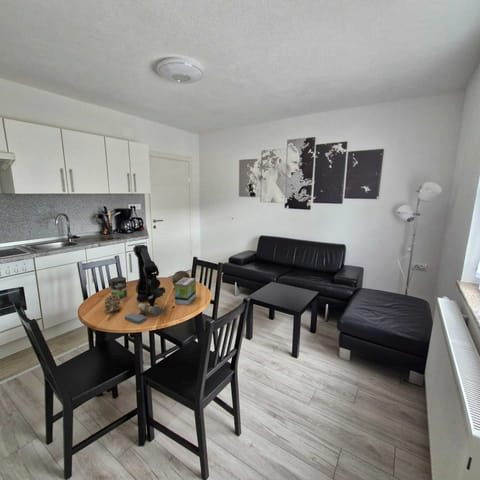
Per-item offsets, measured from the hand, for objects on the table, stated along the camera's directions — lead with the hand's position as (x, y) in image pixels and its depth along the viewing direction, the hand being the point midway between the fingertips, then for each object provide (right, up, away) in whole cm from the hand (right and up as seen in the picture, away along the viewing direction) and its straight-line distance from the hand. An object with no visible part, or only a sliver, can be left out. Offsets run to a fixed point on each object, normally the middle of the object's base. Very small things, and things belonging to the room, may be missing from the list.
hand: (152, 306), depth 162 cm
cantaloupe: (+10, +3, +39) cm, 41 cm away
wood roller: (-2, 0, -4) cm, 4 cm away
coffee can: (-31, +1, +22) cm, 38 cm away
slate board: (-3, -4, -4) cm, 7 cm away
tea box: (+18, 0, +18) cm, 25 cm away
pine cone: (-25, -3, -1) cm, 25 cm away
